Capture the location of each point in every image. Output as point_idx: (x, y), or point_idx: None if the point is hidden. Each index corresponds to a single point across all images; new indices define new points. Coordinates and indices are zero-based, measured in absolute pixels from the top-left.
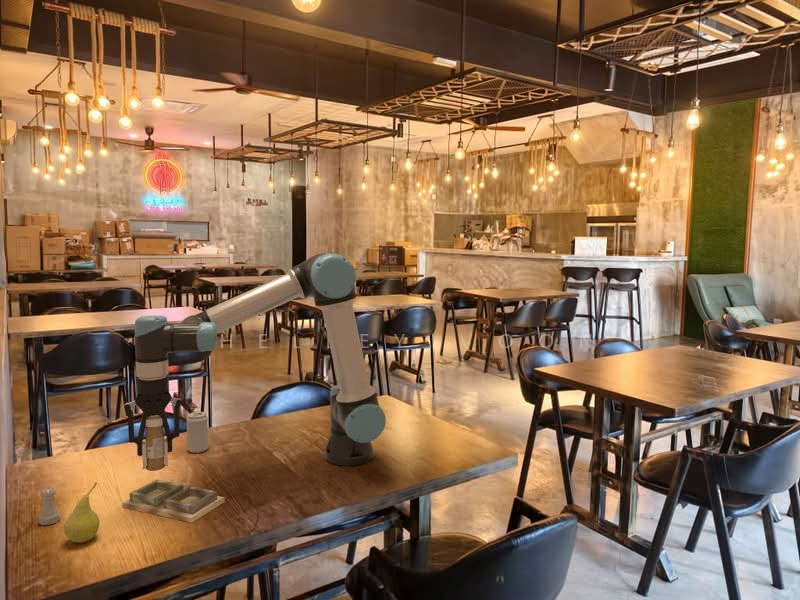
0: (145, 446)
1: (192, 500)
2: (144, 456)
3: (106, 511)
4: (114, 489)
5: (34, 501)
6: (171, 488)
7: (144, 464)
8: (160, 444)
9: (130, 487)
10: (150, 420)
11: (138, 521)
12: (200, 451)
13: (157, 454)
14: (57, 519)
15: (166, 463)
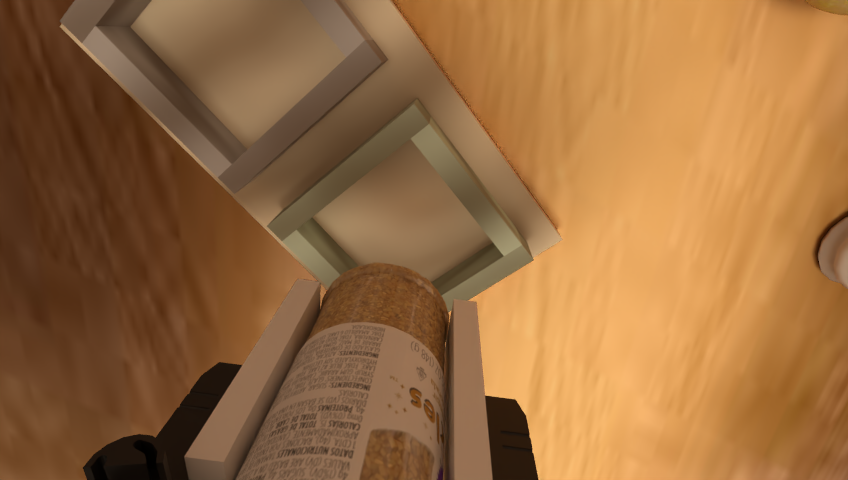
0: (448, 478)
1: (236, 80)
2: (465, 372)
3: (627, 221)
4: (546, 402)
5: (820, 438)
6: (331, 250)
7: (465, 323)
8: (277, 435)
9: (489, 392)
10: None
11: (524, 17)
12: None
13: (345, 345)
14: (846, 225)
15: (301, 292)
